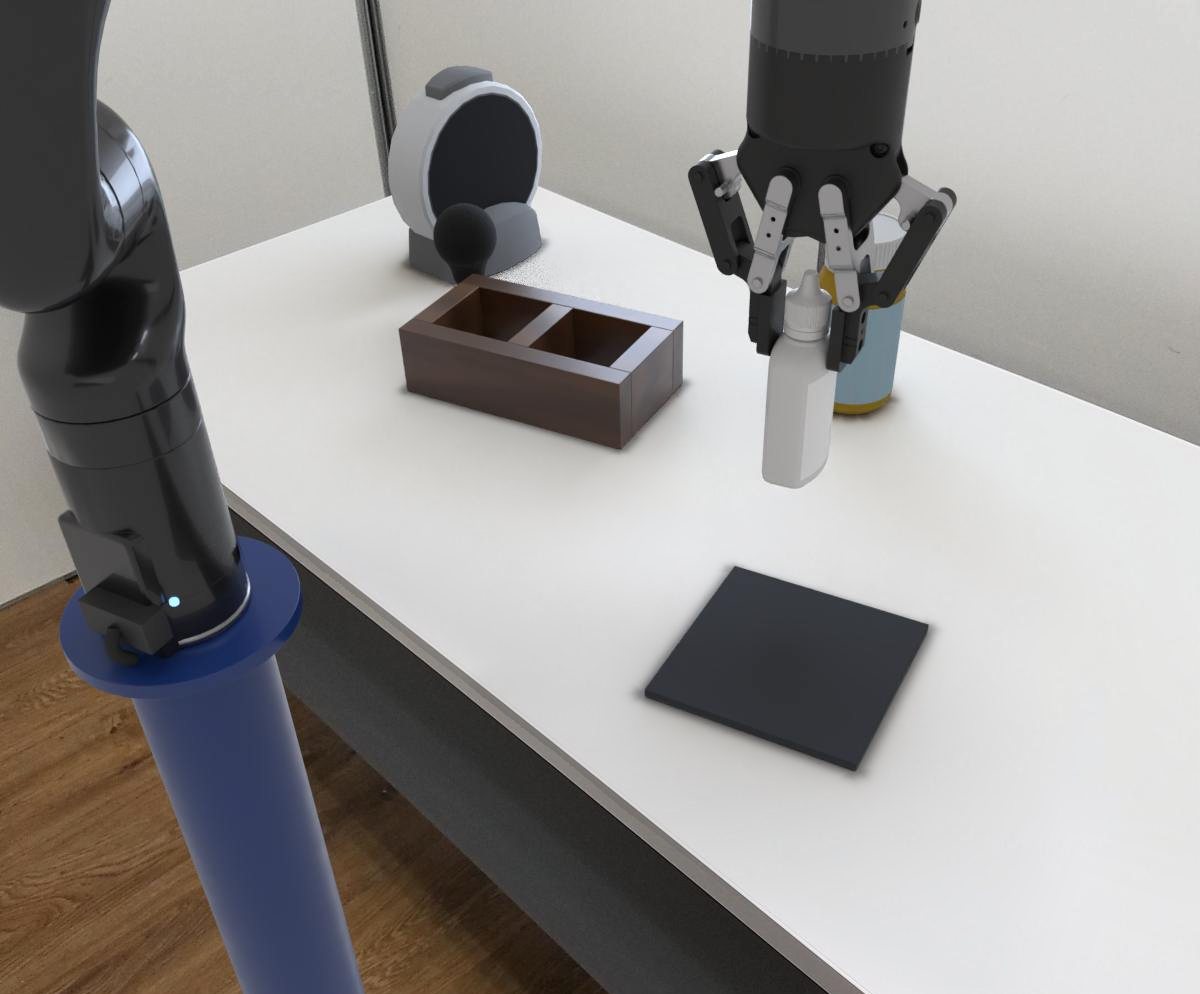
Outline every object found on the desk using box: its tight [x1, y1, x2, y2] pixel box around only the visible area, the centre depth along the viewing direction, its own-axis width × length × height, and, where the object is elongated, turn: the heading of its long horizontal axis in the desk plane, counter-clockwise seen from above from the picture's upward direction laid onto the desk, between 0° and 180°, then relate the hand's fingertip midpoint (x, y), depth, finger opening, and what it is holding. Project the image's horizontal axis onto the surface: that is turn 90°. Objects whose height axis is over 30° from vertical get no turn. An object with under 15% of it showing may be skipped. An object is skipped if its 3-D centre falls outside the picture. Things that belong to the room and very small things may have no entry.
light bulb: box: [433, 203, 497, 286], centre depth 118 cm, size 6×6×10 cm
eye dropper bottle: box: [761, 268, 837, 490], centre depth 69 cm, size 4×6×12 cm
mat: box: [644, 565, 930, 771], centre depth 81 cm, size 14×14×1 cm
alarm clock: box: [387, 65, 543, 285], centre depth 124 cm, size 16×10×18 cm, turn 136°
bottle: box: [818, 211, 907, 415], centre depth 102 cm, size 7×7×15 cm
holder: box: [397, 274, 684, 450], centre depth 107 cm, size 12×21×6 cm, turn 61°
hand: (804, 355), depth 69 cm, fingers closed on eye dropper bottle, 3 cm apart
